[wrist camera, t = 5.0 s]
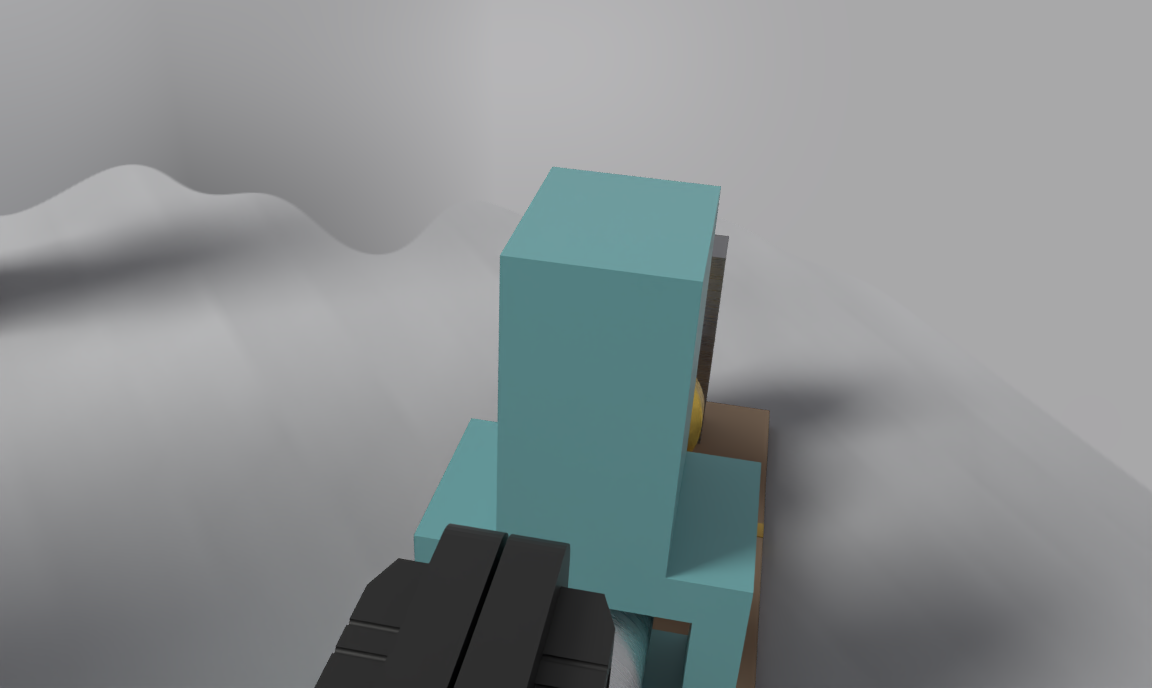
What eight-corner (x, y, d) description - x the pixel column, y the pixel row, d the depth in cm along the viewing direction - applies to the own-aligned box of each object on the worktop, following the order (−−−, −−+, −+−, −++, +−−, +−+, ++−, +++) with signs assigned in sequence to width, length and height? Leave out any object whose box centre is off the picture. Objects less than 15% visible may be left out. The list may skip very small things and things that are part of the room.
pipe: (637, 933, 20) (671, 692, 17) (439, 890, 21) (433, 648, 17) (710, 418, 36) (735, 237, 32) (594, 401, 36) (607, 221, 33)
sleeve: (712, 815, 22) (809, 295, 16) (422, 757, 23) (402, 243, 17) (724, 671, 25) (807, 196, 19) (471, 626, 26) (470, 157, 20)
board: (734, 1020, 20) (738, 1002, 19) (329, 929, 21) (327, 911, 20) (767, 424, 36) (769, 409, 36) (544, 391, 38) (545, 376, 37)
